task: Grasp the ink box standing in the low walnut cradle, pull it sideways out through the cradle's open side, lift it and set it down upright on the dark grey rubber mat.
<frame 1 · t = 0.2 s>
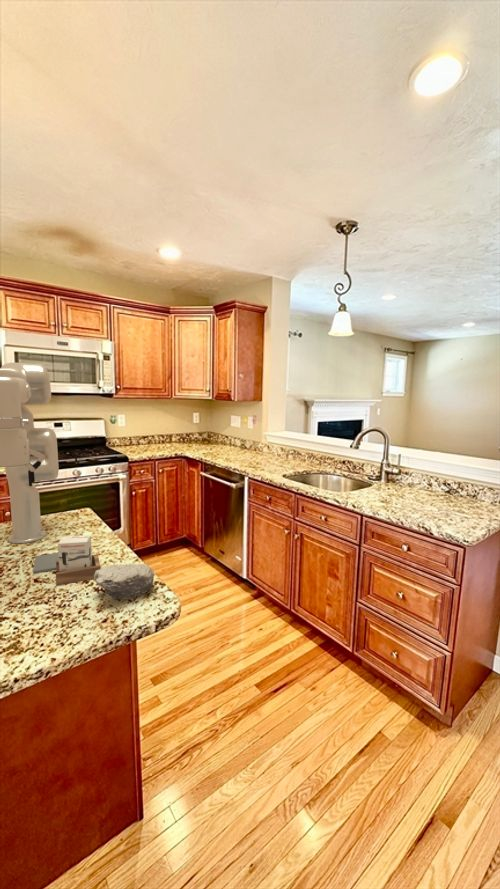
hand: (9, 487, 99), 31 cm above the countertop, fingers open, 9 cm apart
rock: (125, 595, 103), on the countertop
mat: (55, 562, 122), on the countertop
cradle: (76, 574, 114), on the countertop
ink box: (76, 575, 114), resting in cradle
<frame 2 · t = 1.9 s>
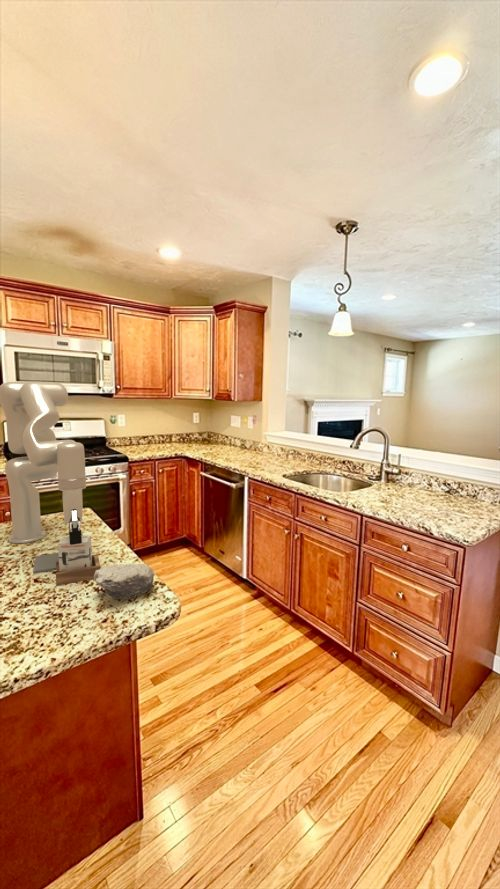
hand: (75, 538, 112), 12 cm above the countertop, fingers open, 9 cm apart
nothing on the countertop moved.
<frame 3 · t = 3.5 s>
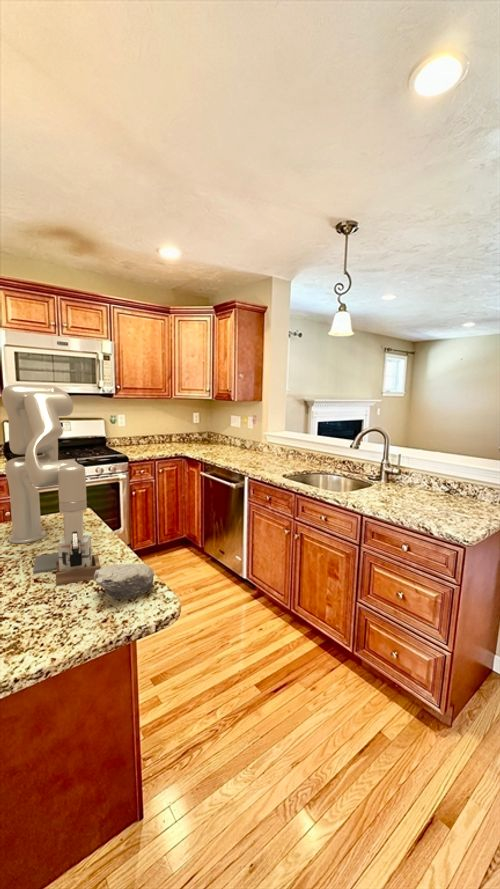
hand: (75, 560, 113), 5 cm above the countertop, fingers closed on ink box, 5 cm apart
ink box: (76, 575, 114), resting in cradle, touching gripper
everything else where it was.
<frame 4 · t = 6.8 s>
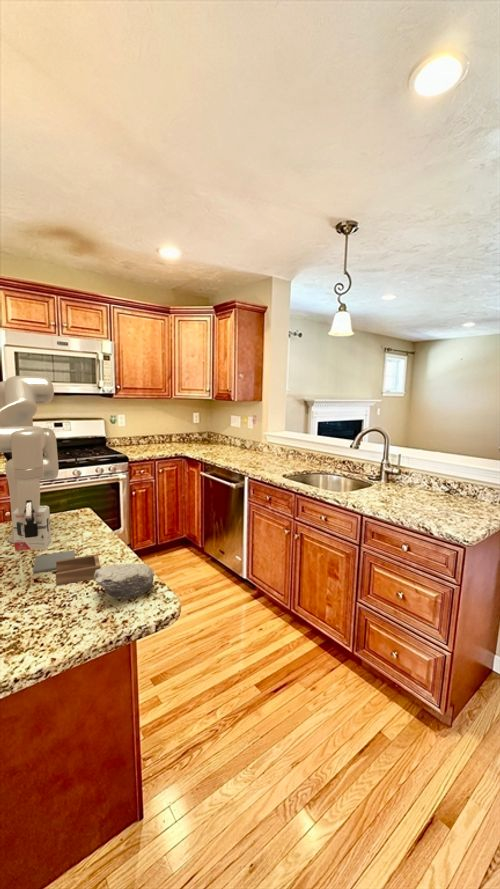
hand: (32, 532, 107), 15 cm above the countertop, fingers closed on ink box, 5 cm apart
ink box: (33, 547, 108), point 11 cm above the countertop, touching gripper
everything else where it was.
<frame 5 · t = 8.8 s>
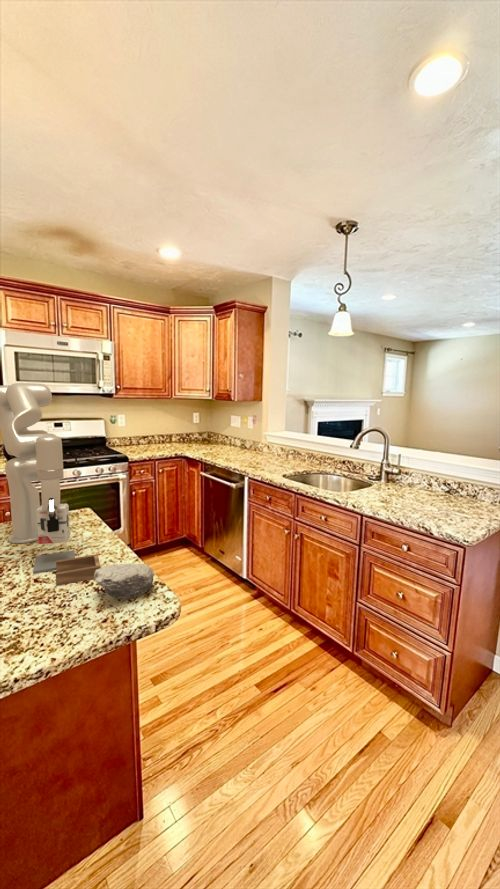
hand: (53, 527, 120), 12 cm above the countertop, fingers closed on ink box, 5 cm apart
ink box: (54, 541, 121), point 7 cm above the countertop, touching gripper
everything else where it was.
when the fingers open (6 cm above the countertop, at t = 10.5 s): ink box drops 1 cm, resting on mat.
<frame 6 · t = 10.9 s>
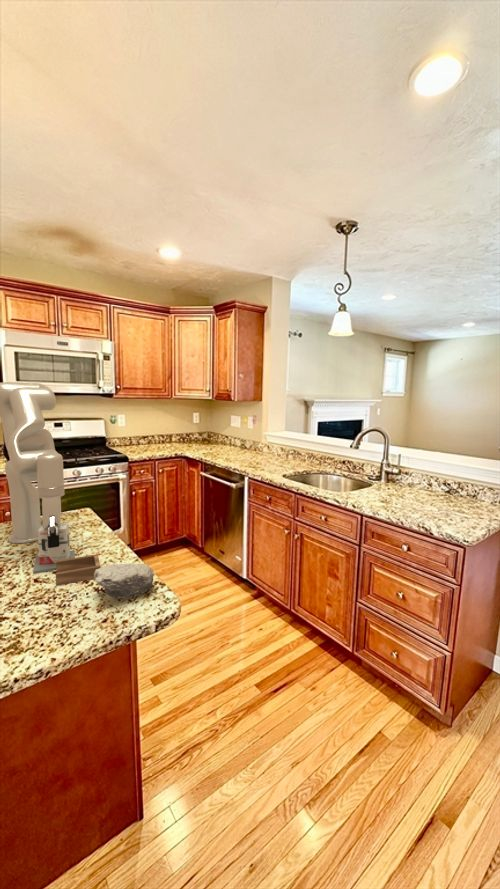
hand: (54, 541, 121), 7 cm above the countertop, fingers open, 9 cm apart
ink box: (55, 560, 122), point 1 cm above the countertop, touching mat
everything else where it was.
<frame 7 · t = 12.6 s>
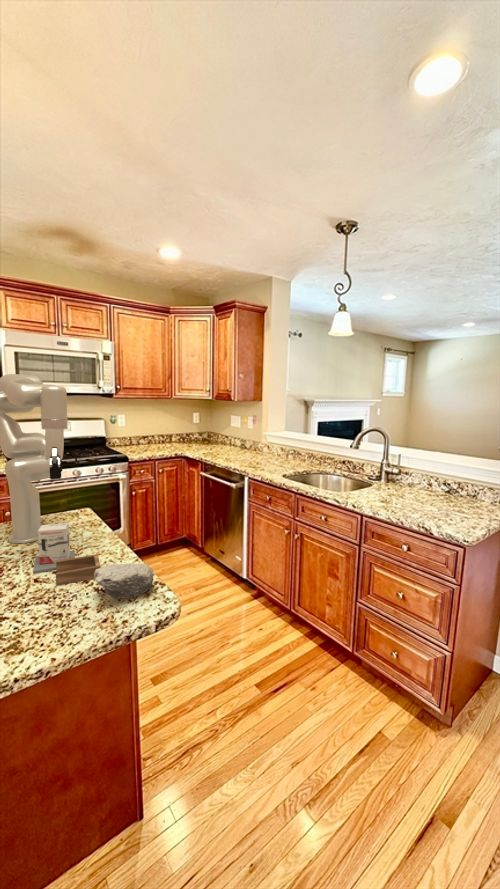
hand: (56, 475, 122), 29 cm above the countertop, fingers open, 9 cm apart
nothing on the countertop moved.
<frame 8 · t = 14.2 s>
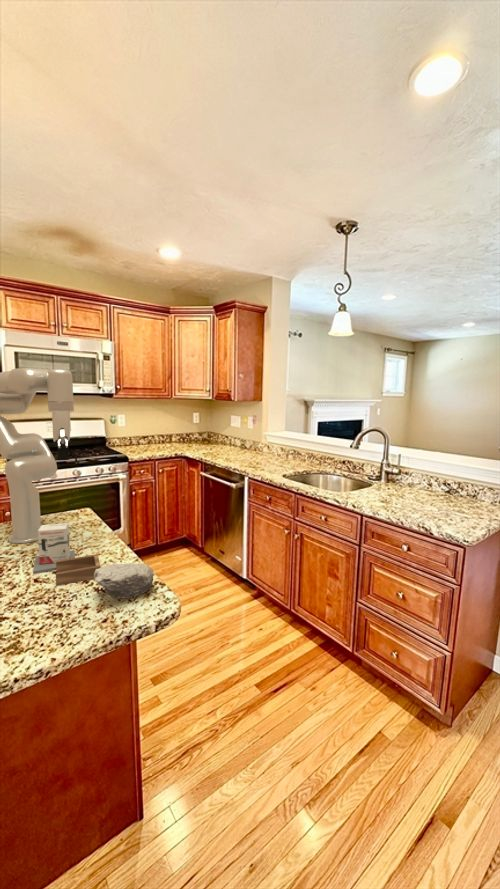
hand: (63, 457, 124), 34 cm above the countertop, fingers open, 9 cm apart
nothing on the countertop moved.
at the end: ink box inside the target area on the mat (0.2 cm from its centre), point 0.6 cm above the mat's base; ink box tilted 0°; the gripper is holding nothing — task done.
